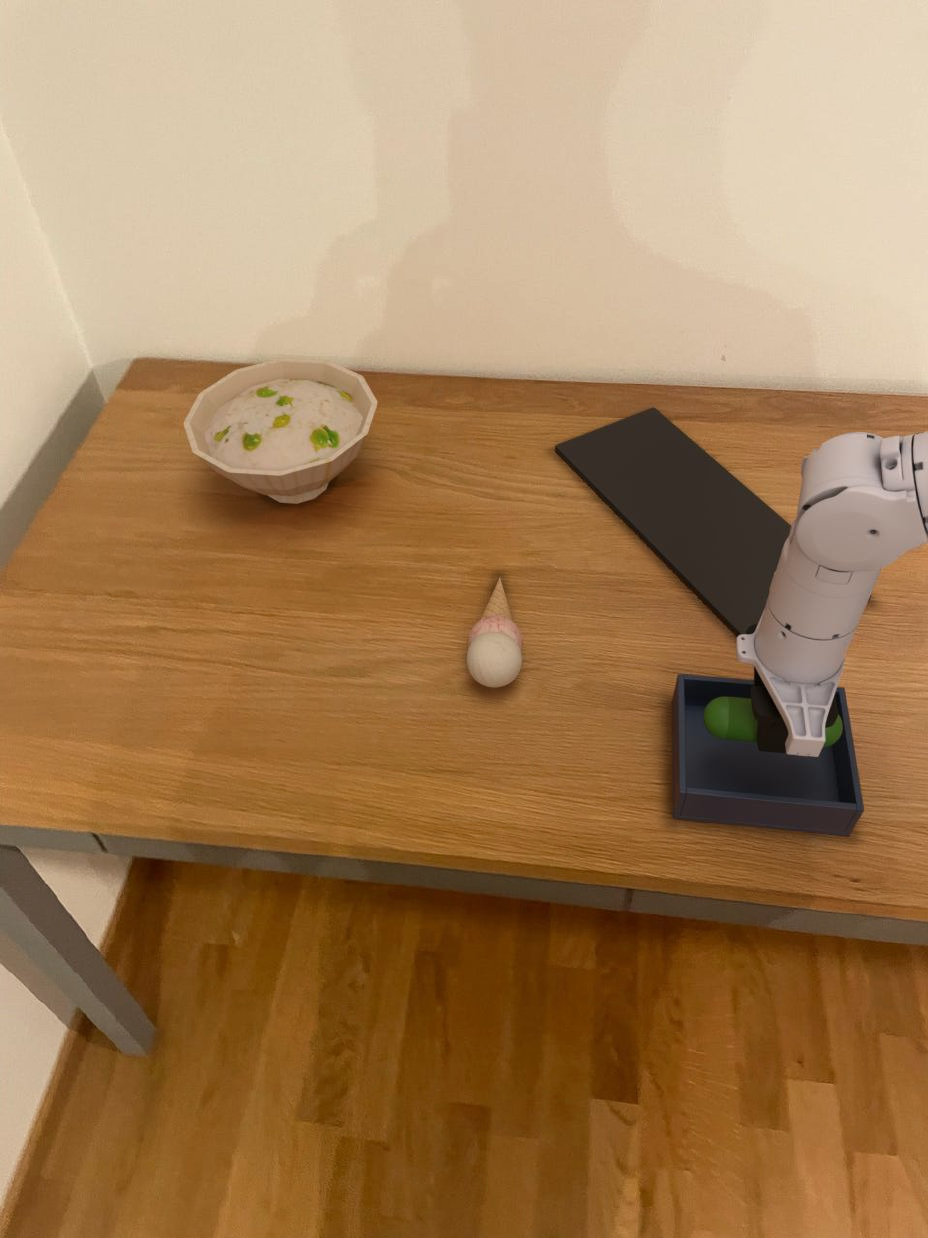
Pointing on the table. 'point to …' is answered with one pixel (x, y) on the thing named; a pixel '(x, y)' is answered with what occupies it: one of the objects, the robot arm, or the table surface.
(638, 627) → the table surface
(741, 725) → the cucumber
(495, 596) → the ice cream cone
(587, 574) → the table surface
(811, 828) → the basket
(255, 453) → the bowl
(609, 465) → the mat
